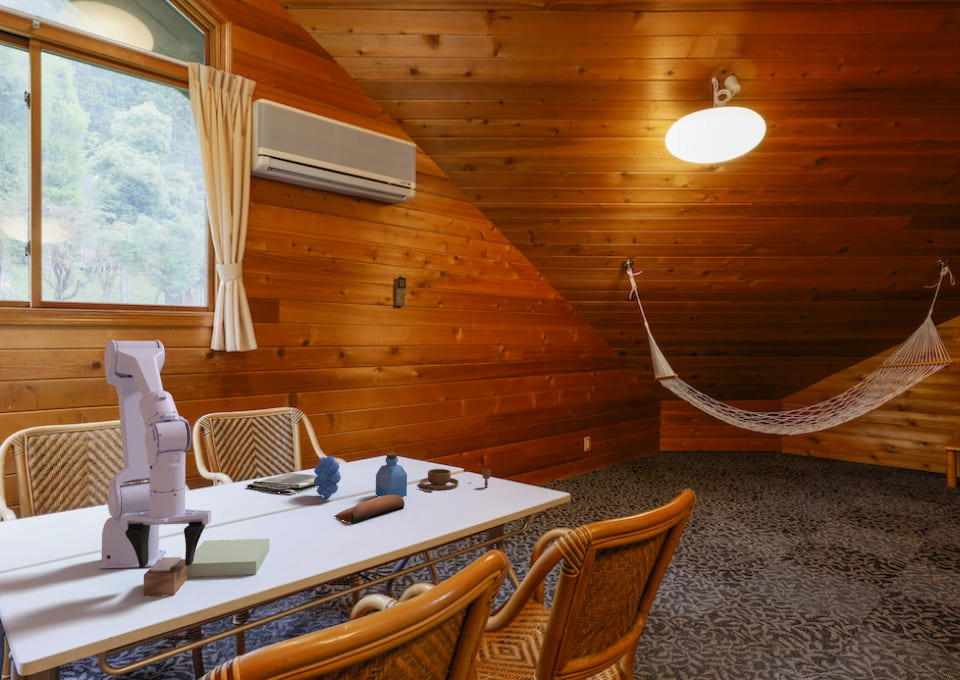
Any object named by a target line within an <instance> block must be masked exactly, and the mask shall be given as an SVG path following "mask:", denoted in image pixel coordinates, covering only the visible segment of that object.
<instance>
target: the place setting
mask: <svg viewBox="0 0 960 680" xmlns="http://www.w3.org/2000/svg"><path fill="white" fill-rule="evenodd" d="M481 472H482V473H481V474H482V475H481V476H482V478H483V479H484V487H483V488H484V489H489V487H488V485H489V481H488V479H489V480H490V478H491V469H490V468H484V469H482V471H481ZM451 476H452V475H451V470H449V469H445V468H434V469H433V468H432V469H429V470H428V471H427V477H426V478H422V479H420V480H419V485H420V487H421V488H422V487H423V489H421V488H417V489H418V491H423V492H424V491H425V493H432V492H433V491H446V490H445V489H448V490H452V488H453V489H456V488H457V487H458V486H459V480H458V479H457V478H454V477H451ZM449 482H450V483H449ZM469 482H470V483H469V484H471V483H472V481H469ZM428 483H430V484H431V485H428ZM448 483H449V484H450V485H449V484H448ZM453 483H454V484H453ZM447 484H448V485H447ZM430 489H431V490H430Z"/></svg>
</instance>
